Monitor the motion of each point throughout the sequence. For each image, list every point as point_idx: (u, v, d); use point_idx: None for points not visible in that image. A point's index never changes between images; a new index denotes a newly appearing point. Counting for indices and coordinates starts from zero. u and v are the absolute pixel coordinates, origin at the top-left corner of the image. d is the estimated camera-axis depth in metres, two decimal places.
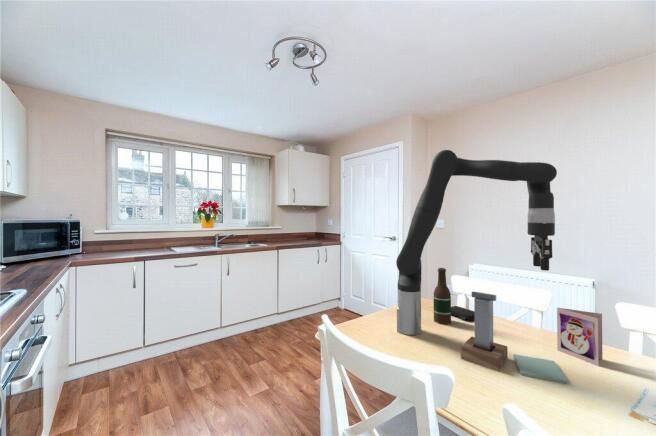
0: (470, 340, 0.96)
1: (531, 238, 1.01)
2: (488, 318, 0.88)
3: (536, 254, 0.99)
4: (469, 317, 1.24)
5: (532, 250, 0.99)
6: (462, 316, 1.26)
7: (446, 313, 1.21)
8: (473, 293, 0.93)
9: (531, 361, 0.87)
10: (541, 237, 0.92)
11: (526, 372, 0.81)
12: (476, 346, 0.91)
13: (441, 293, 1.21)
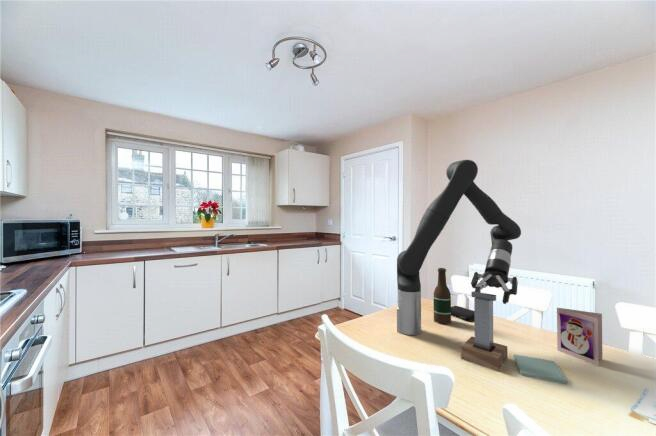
0: (470, 340, 0.96)
1: (476, 272, 1.05)
2: (488, 318, 0.88)
3: (479, 287, 1.02)
4: (469, 317, 1.24)
5: (483, 282, 1.01)
6: (462, 316, 1.26)
7: (446, 313, 1.21)
8: (473, 293, 0.93)
9: (531, 361, 0.87)
10: (506, 275, 0.99)
11: (526, 372, 0.81)
12: (476, 346, 0.91)
13: (441, 293, 1.21)
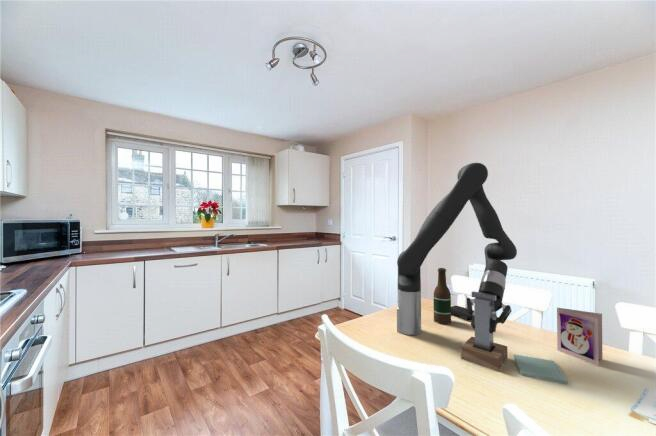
0: (470, 340, 0.96)
1: (468, 298, 0.98)
2: (488, 318, 0.88)
3: None
4: (470, 317, 1.24)
5: None
6: (463, 316, 1.26)
7: (446, 313, 1.21)
8: (473, 293, 0.93)
9: (531, 361, 0.87)
10: (500, 300, 0.93)
11: (526, 372, 0.81)
12: (476, 346, 0.91)
13: (441, 293, 1.21)
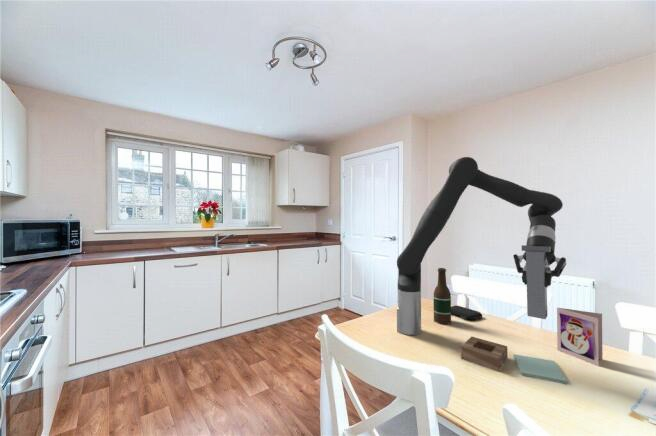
0: (470, 340, 0.96)
1: (515, 255, 0.92)
2: (543, 271, 0.82)
3: None
4: (470, 316, 1.24)
5: None
6: (463, 316, 1.26)
7: (446, 313, 1.21)
8: (523, 246, 0.86)
9: (531, 361, 0.87)
10: (553, 253, 0.86)
11: (526, 372, 0.81)
12: (529, 302, 0.84)
13: (441, 293, 1.21)
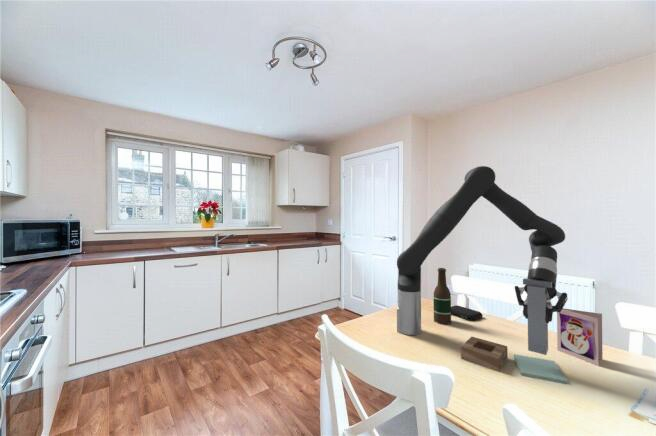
0: (470, 340, 0.96)
1: (517, 286, 0.92)
2: (544, 306, 0.82)
3: None
4: (471, 316, 1.25)
5: None
6: (464, 315, 1.26)
7: (446, 313, 1.21)
8: (525, 280, 0.86)
9: (531, 361, 0.87)
10: (554, 287, 0.86)
11: (526, 372, 0.81)
12: (529, 337, 0.84)
13: (441, 293, 1.21)
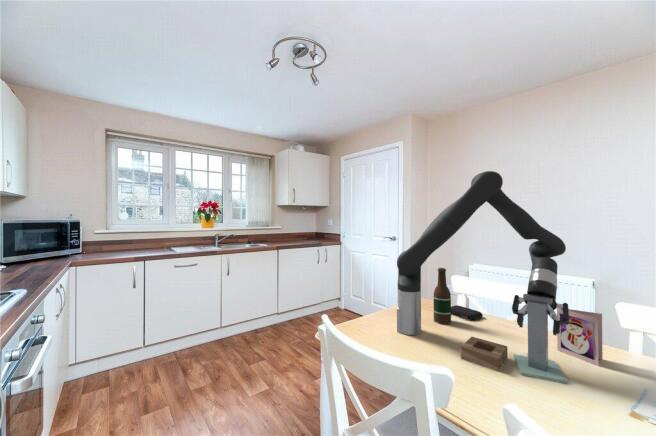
0: (470, 340, 0.96)
1: (517, 296, 0.92)
2: (544, 323, 0.82)
3: (522, 314, 0.89)
4: (471, 316, 1.25)
5: (527, 308, 0.88)
6: (464, 315, 1.27)
7: (446, 313, 1.21)
8: (525, 296, 0.86)
9: None
10: (555, 300, 0.86)
11: (526, 372, 0.81)
12: (530, 353, 0.84)
13: (441, 293, 1.21)
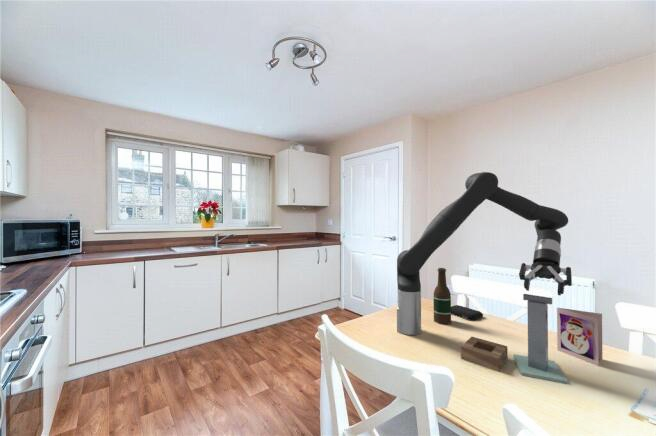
0: (470, 340, 0.96)
1: (524, 263, 1.01)
2: (544, 323, 0.82)
3: (529, 278, 0.97)
4: (472, 316, 1.25)
5: (533, 273, 0.96)
6: (465, 315, 1.27)
7: (446, 313, 1.21)
8: (525, 296, 0.86)
9: None
10: (558, 265, 0.95)
11: (526, 372, 0.81)
12: (530, 353, 0.84)
13: (441, 293, 1.21)
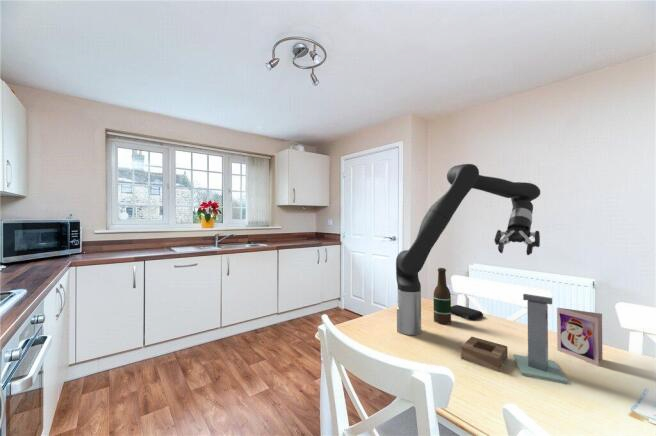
0: (470, 340, 0.96)
1: (499, 230, 1.11)
2: (544, 323, 0.82)
3: (503, 243, 1.07)
4: (472, 316, 1.25)
5: (506, 237, 1.07)
6: (465, 315, 1.27)
7: (446, 313, 1.21)
8: (525, 296, 0.86)
9: None
10: (529, 230, 1.05)
11: (526, 372, 0.81)
12: (530, 353, 0.84)
13: (441, 293, 1.21)
